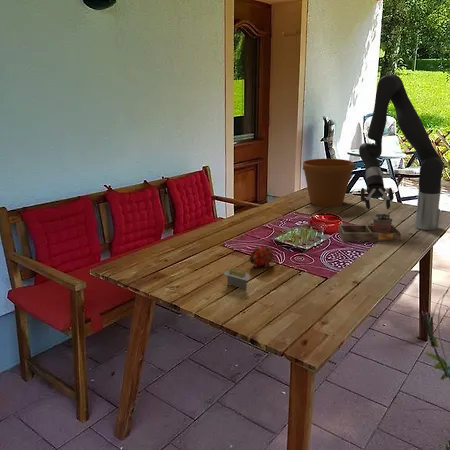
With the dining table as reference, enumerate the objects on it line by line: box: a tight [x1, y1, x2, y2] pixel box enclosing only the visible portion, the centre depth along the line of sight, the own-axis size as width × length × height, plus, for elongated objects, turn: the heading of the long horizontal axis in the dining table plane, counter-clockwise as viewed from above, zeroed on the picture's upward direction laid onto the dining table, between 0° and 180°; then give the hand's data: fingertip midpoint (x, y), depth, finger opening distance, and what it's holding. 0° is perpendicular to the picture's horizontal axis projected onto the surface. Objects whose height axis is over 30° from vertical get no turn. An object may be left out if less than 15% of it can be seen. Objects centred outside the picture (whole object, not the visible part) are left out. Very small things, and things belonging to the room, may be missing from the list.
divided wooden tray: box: [338, 224, 401, 242], centre depth 202 cm, size 24×12×4 cm, turn 85°
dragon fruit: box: [249, 245, 275, 269], centre depth 172 cm, size 8×8×12 cm
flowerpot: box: [302, 158, 354, 208], centre depth 260 cm, size 28×28×24 cm
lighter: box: [372, 212, 393, 233], centre depth 201 cm, size 8×3×10 cm, turn 84°
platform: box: [223, 266, 250, 291], centre depth 155 cm, size 12×18×7 cm, turn 53°
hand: (378, 208), depth 206 cm, fingers open, 8 cm apart
